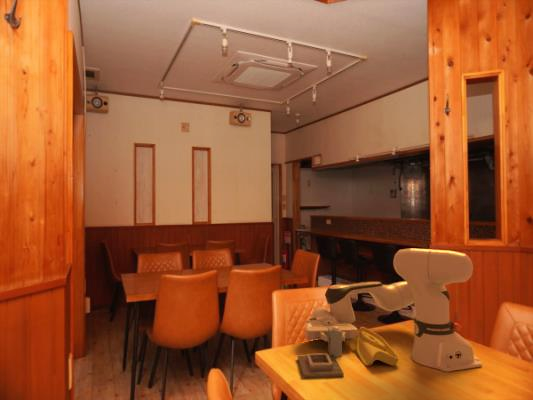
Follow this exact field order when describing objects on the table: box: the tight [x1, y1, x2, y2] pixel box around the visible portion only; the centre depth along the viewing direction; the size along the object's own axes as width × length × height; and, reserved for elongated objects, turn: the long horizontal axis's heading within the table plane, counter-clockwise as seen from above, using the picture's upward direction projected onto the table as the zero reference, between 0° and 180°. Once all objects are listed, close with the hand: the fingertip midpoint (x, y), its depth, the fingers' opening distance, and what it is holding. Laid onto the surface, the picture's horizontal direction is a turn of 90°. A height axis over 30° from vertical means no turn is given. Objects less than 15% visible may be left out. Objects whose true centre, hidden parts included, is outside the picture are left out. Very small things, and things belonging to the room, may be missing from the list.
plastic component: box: [355, 326, 400, 367], centre depth 133 cm, size 20×7×10 cm
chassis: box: [297, 352, 345, 379], centre depth 124 cm, size 13×14×3 cm
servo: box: [327, 326, 343, 357], centre depth 135 cm, size 4×5×10 cm
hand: (335, 339), depth 134 cm, fingers open, 4 cm apart
